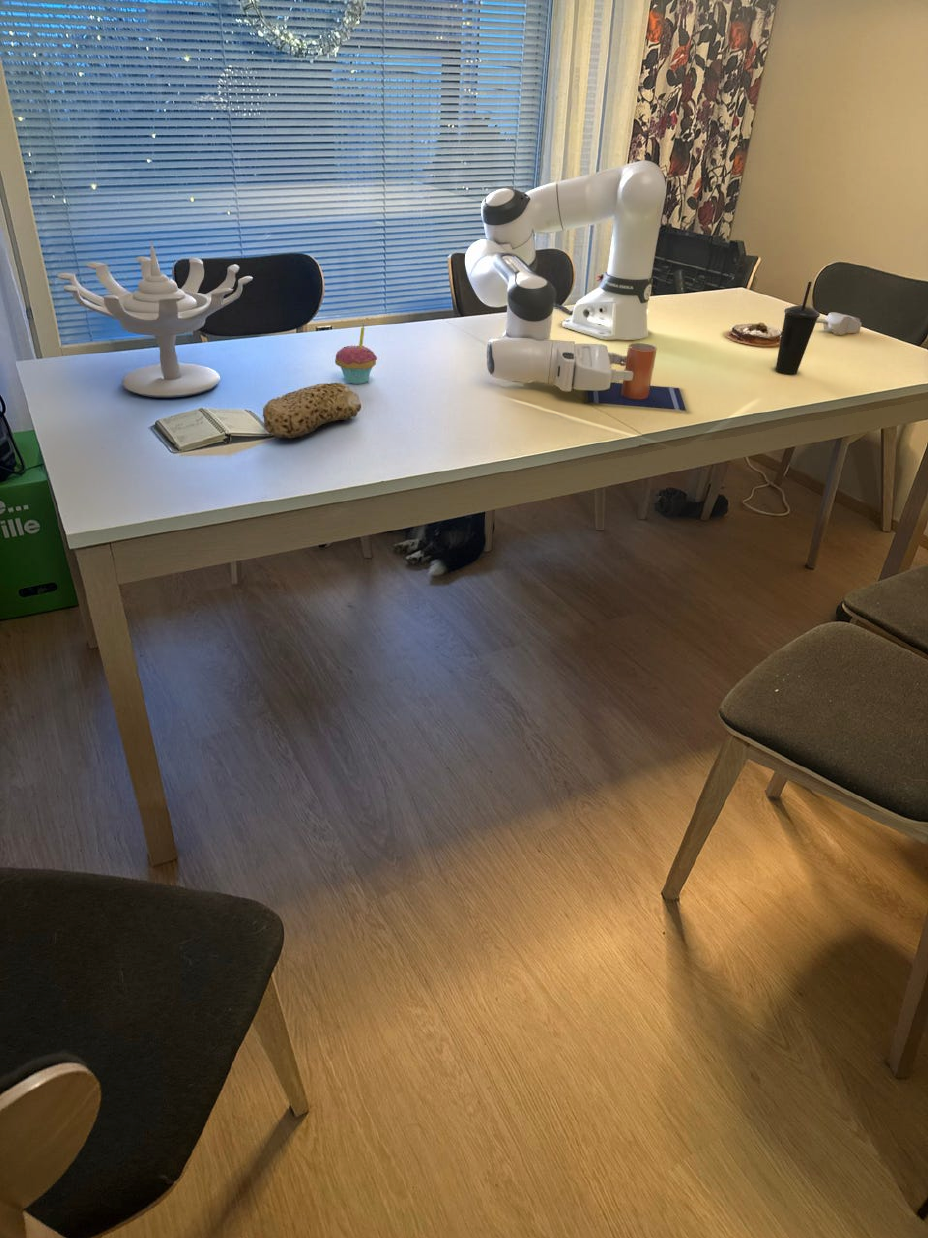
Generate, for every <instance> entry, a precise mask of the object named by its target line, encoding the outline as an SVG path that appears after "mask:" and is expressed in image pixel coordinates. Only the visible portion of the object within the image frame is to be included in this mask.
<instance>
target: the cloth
mask: <svg viewBox="0 0 928 1238" xmlns="http://www.w3.org/2000/svg"><path fill="white" fill-rule="evenodd" d="M622 383H623V382H622ZM622 383H621V382H611V384H610V388H609V389H606V390H586V396H587V397H586V398H587V399H586V400H587V403H589V404H601V405H613V406H625V407H637V408H648V409H660V410H671V411H685V412H686V411H687V408H686V405H685V402H684V399H683V395H682V394H681V389H680V388H679V387H672V386H661V385H660V386H658V385H650V391H649V396H648V398H646V399H640V400H637V399H630V398H626V397H624V396H622V395H621V389H622Z"/></svg>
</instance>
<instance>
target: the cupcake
mask: <svg viewBox="0 0 928 1238" xmlns="http://www.w3.org/2000/svg"><path fill="white" fill-rule="evenodd" d="M359 335H360V336H359V343H358V345H347V346H344V347H341V349H339V350H338V351H337V352H336V354H335V359H334V364H335V365H336V366H338V367H340V369H341V371H342V374H343V377H344V381H345V382H346V383H349V384H353V385H362V384H366V383H368V381H369V379H370V375H371V372H372V369H373V368H374V367H375V366H376V364H377V360H378V357H377V355H376V354H375V352H374V351H373V350H371V349H370V348H368V347H366V346H364V345H363V343H364V335H365V323H363V324H362V326H361V328H360V334H359Z"/></svg>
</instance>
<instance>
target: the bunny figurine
mask: <svg viewBox="0 0 928 1238" xmlns="http://www.w3.org/2000/svg"><path fill="white" fill-rule="evenodd" d="M815 324H823V325H822V326H823V330H825V332H826V333H830V332H831V333H833V335H835V336H838V335H843V336H844V335H845V334H846V333H847V334H848V333H850V334H855V333H859V332H860V331H861V327H862V326H863V324H862V322H861V319H860V318H859V317H855V316H851V315H848V314H843V313H839V312H834V311H832V312H831V311H830V312H829V313H828V315H827V316H826V318H825V319H824V318H820V317H818V318H817V321H816V323H815Z"/></svg>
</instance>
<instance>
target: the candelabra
mask: <svg viewBox="0 0 928 1238" xmlns="http://www.w3.org/2000/svg"><path fill="white" fill-rule="evenodd" d="M155 251H156V250H155V248H154V245H153V242H152V241H150V257H147V256H141V255H140V256H137V257H135V261H137V262H138V263H139V264H140V270H141V278H142V279H141V280H140V281H139V283H138V286H137V288H138V289H136V290H135V291H132V292H131V291H129V290H127V289H125V288H124V287H123V286H121V285H120V283H118V282H117V281H116V280H115V279H114V277H113V275H112V273H111V271H110V268H109V266H108V265H107V264H105V263H102V262H96V261H89V262H87V263H85V264H84V266H86V267H87V268H89V269H92V270H95V273H96V277H97V280H98V282H99V283H100V284H101V285H102V286H103V287H104V288H105V289H106V290H107V291H108V292H109V293H110V294H104V295H103V296H101V295H98V294H96V293H93V292H92V291H90V290H88V289H87V288H85V287H83V286H82V285H81V283H80V282H79V281H78V279H77V276H76V273H71V272H60V273H58V274H56V276H57V278H58V279H60V280H64V281H70V284H69V285H68V284H67V285H64V286H62V289H63V290H64V291H65V292H68V293H72V297H73V298H74V300H75V301H76V302H77V303H78V304H79V305H80V306H82V307H84V308H87V309H89V310H90V311H93V312H96V313H98V314H101V315H104V316H107V317H109V318H112V319H114V320H116V321H118V323H119V324H120V326H121V328H122V329H123V330H125V331H126V332H129V333H132V334H137V335H141V336H142V335H144V336H153V337H154V338H155V341H156V343H157V345H158V348H159V361H160V363H157V364H152V365H146V366H143V367H139V368H136V369H133V371H131V372H129V373H127V374H126V375H125V376H124V377H123V378H122V386H123V388H124V389H126V390H127V391H129V392H130V393H133V394H137V395H140V396H144V397H151V398H167V399H168V398H170V399H171V398H181V397H188V396H193V395H194V396H195V395H198V394H202V393H204V392H208V391H210V390H212V389H213V388H215V387H216V386H218V384H219V382H220V380H221V377H220V374H219V373H218V372H217V370H214V369H212V368H211V367H207V366H204V365H202V364H201V365H200V364H195V363H189V362H187V363H186V362H179V360H178V359H179V358H178V354H177V351H176V339H177V335H183V334H188V333H192V332H195V331H197V330H200V329H201V328H203V327H204V325H205V323H206V319H207V318H208V317H209V316H210V315H212V314H214V313H215V312H217V311H219V310H221V309H223V308H225V307H226V306H228V305H230V304H231V303H233V302H234V301H235V300H237V299H239V298H240V297H241V295H242V292H243V285H246V284H248V283H249V282H251V281H253V279H254V278H253V277H252V276H251V275H247V276H243V277H241V278H239V279H238V280H237V288H236V290H235V292H233V291H234V286H235V283H236V274H237V273H238V272H239V270H240V266H239V265H237V264H231V265H229V266H228V267H227V268H226V269H227V274H226V277H225V279H224V280H223V282H222V283H221V284H220V285H218V287H216V288H215V289H213V290H211V291H209V292H207V293H201V292H200V293H199V289H200V287H201V284H202V282H203V280H204V277H205V268H204V261H203V260H202V259H201V258H199V257H195V256H194V257H190V258H189V259H188V261H189V272H188V277H187V279H186V280H185V283H184V285H182V287H181V288H178V284H177V282H176V281H175V280H173V279H172V278H169V277H168V276H167V274H164V273H162V271H161V269H160V265H159V262H158V261H159V260H158V258H157V255H156V252H155ZM232 292H233V293H232ZM231 293H232V294H231ZM228 294H230V295H228ZM225 295H228V296H227V297H225V298H224V296H225Z"/></svg>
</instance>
